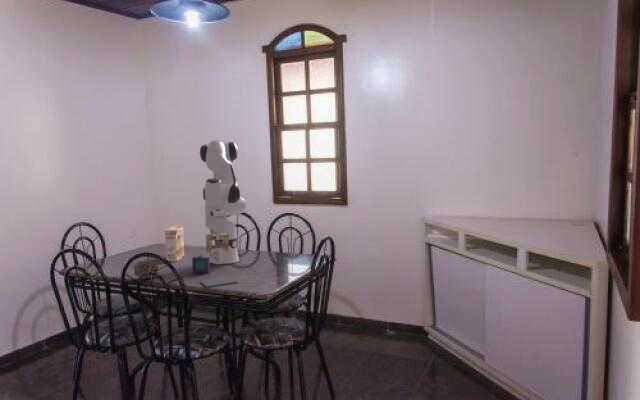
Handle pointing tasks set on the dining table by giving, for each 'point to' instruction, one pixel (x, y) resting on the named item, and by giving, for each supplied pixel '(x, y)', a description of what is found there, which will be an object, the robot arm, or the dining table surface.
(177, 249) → the coffeecake box
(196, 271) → the flask
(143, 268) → the pine cone
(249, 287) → the dining table surface
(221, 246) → the stool
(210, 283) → the mat
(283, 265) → the dining table surface
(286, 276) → the dining table surface
